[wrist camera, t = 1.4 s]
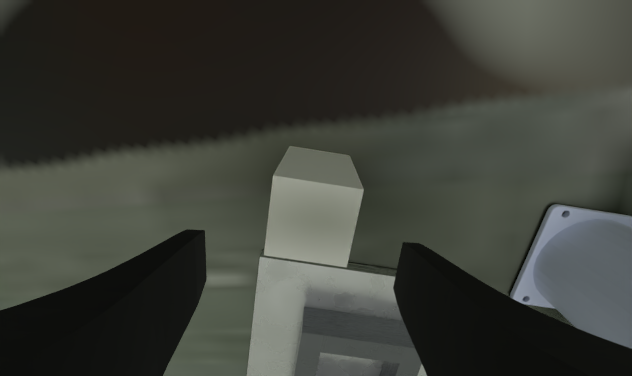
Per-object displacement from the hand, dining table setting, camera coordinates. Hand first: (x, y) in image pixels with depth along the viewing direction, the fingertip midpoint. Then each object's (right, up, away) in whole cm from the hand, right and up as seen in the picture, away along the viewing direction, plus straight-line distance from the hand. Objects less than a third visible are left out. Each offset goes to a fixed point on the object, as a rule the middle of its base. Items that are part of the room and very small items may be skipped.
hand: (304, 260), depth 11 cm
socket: (+3, -11, +14) cm, 18 cm away
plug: (0, +3, +9) cm, 10 cm away
